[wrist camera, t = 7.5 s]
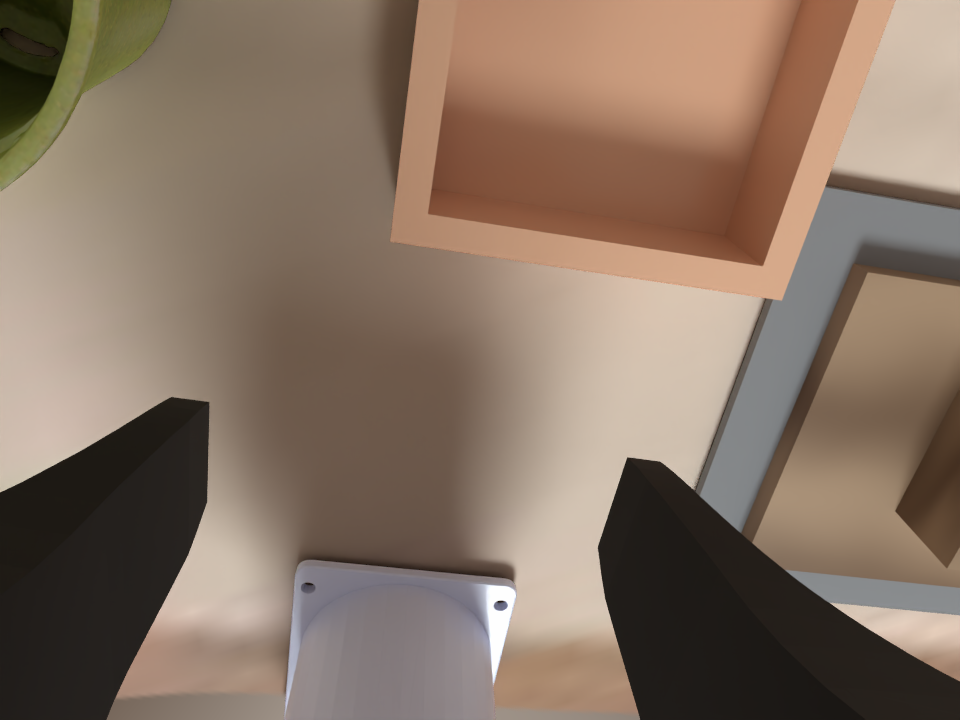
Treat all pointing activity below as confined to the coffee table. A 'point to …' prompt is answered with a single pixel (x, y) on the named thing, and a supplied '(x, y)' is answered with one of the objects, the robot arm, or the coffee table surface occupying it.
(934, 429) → the lid
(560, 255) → the dish
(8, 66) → the plant pot
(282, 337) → the coffee table surface
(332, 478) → the coffee table surface
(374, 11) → the coffee table surface
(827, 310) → the mat
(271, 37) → the coffee table surface
